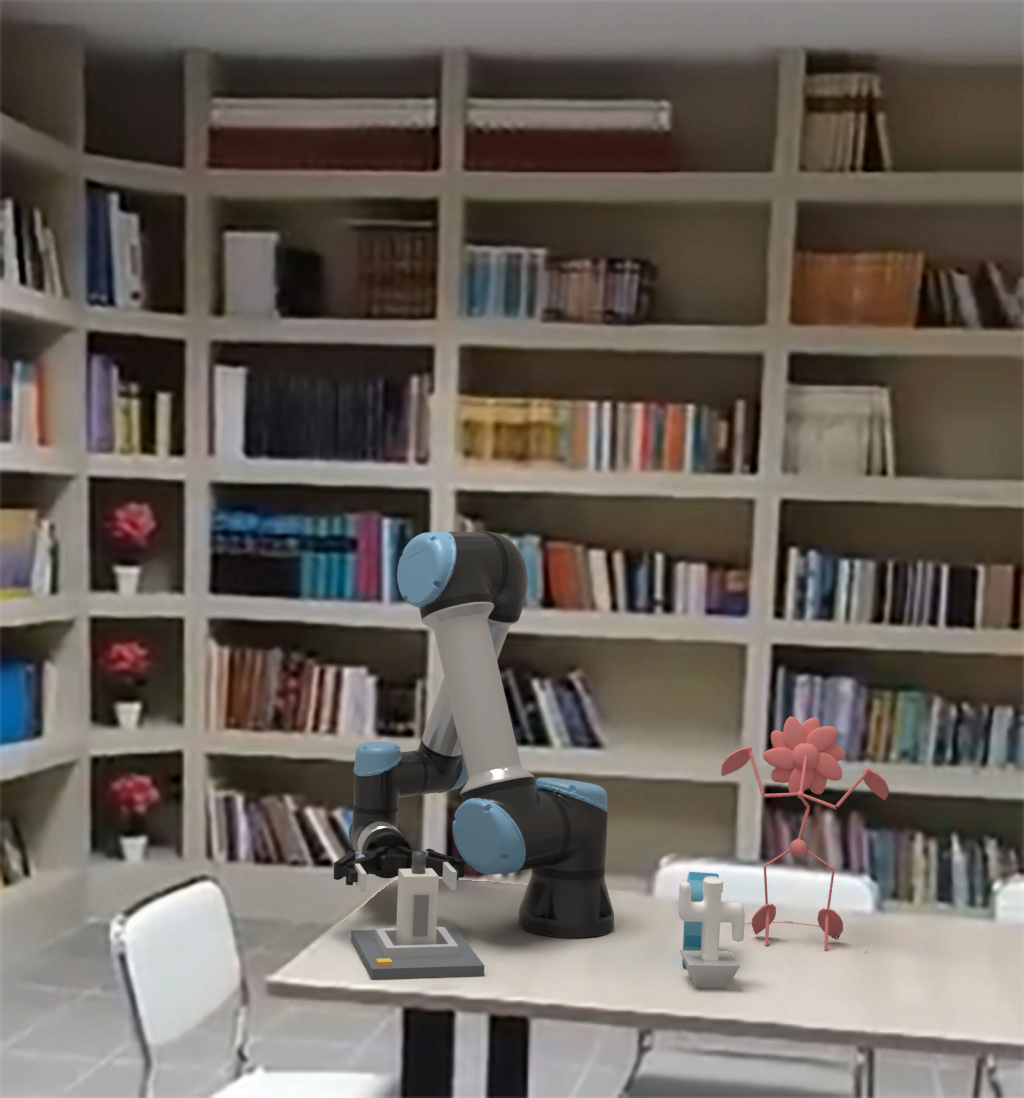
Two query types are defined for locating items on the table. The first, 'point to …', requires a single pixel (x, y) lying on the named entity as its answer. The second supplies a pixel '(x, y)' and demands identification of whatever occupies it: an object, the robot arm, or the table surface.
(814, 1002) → the table surface
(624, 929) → the table surface
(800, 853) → the pink flower stick figure
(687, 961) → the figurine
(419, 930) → the plug
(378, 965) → the dock
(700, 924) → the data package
